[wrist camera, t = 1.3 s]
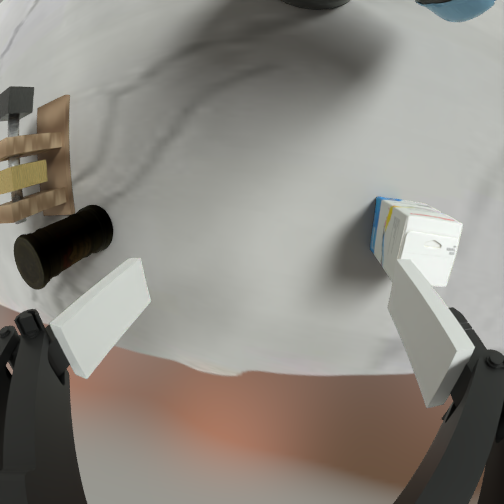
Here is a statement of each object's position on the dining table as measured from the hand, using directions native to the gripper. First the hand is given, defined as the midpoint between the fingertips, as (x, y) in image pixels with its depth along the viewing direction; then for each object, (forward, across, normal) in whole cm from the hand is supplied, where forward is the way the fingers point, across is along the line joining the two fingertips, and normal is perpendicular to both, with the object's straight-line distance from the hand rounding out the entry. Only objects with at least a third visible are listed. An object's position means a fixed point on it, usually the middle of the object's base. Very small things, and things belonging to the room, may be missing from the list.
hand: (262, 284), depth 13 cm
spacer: (+21, -45, +9) cm, 50 cm away
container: (+27, -35, -4) cm, 44 cm away
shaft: (+19, -44, +13) cm, 50 cm away
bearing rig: (+27, -44, +12) cm, 53 cm away
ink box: (+27, +17, -5) cm, 33 cm away
